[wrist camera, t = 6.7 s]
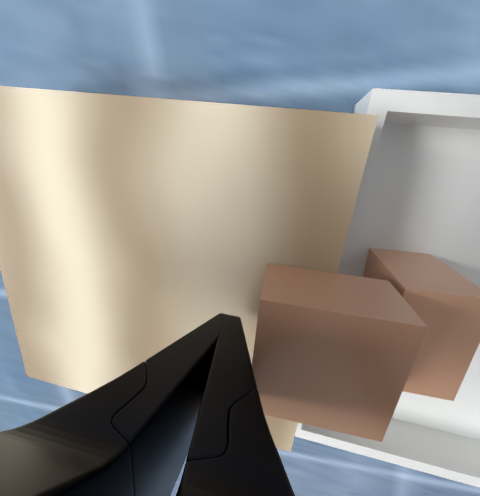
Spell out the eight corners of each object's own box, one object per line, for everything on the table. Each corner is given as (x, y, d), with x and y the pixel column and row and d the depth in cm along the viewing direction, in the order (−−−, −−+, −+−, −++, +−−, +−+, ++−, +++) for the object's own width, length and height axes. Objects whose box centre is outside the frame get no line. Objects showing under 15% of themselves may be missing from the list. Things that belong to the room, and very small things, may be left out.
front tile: (388, 280, 8) (428, 327, 6) (359, 374, 10) (381, 442, 7) (267, 263, 9) (260, 299, 6) (256, 353, 10) (246, 410, 8)
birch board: (348, 132, 11) (378, 115, 7) (291, 381, 15) (290, 452, 12) (53, 105, 13) (-46, 82, 9) (83, 330, 18) (26, 376, 14)
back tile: (369, 247, 11) (429, 253, 11) (352, 321, 13) (405, 329, 12) (405, 288, 8) (498, 300, 7) (376, 386, 9) (453, 400, 9)
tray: (739, 132, 8) (911, 121, 6) (510, 450, 14) (555, 508, 11) (354, 105, 10) (373, 88, 8) (288, 394, 16) (287, 434, 13)
